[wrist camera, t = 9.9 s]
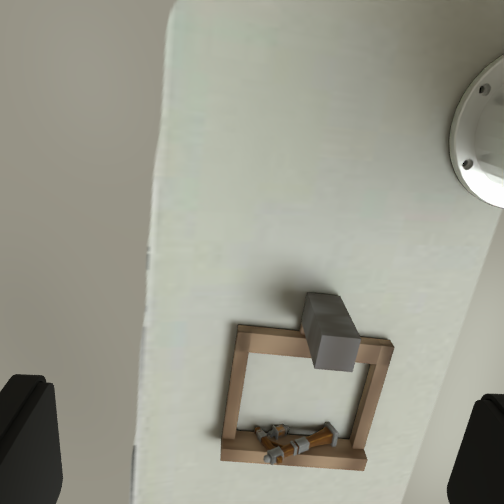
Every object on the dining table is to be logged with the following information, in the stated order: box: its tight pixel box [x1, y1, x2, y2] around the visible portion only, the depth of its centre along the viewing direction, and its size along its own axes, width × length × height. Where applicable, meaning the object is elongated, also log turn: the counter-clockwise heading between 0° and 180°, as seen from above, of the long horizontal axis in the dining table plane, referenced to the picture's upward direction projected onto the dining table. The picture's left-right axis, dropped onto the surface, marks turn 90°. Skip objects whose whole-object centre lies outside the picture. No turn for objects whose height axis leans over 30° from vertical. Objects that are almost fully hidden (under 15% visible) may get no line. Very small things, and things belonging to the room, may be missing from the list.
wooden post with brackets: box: [254, 422, 339, 465], centre depth 44 cm, size 2×8×4 cm, turn 86°
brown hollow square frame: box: [220, 292, 394, 471], centre depth 39 cm, size 14×18×7 cm
